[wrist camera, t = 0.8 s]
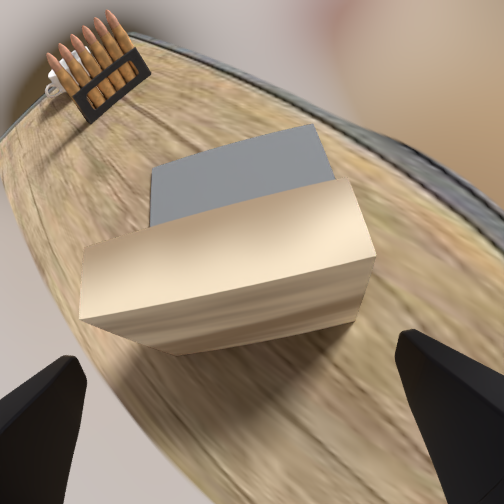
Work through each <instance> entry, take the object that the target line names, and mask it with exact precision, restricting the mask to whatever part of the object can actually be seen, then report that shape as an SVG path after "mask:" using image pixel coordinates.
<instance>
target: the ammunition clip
mask: <svg viewBox="0 0 504 504" xmlns="http://www.w3.org/2000/svg"><path fill="white" fill-rule="evenodd" d="M106 18H107V21H108V24H109V26H110V27H111V30H112V32H113V34H114V38H115V39H114V38H113V37H112V36H111V34H110V33H109V32H108V30H107V28H106V27H105V26H104V24H103V23H102V22H101V21H100V20H99V19H98V18H96V17H95V18H94V24H95V27H96V30H97V32H98V34H99V36H100V38H101V40H102V42H103V45H104V47H103V46H102V45H101V44H100V43H99V41H98V40H97V39H96V37H95V36H94V34H93V33H92V32H91V31H90V30H89V29H88V28H87V27H86V26H84V25H83V26H82V30H83V34H84V37H85V39H86V41H87V43H88V44H89V47H90V48H91V51H92V54H93V56H94V57H95V59H96V60H95V59H94V57H93V56H92V55H91V54H90V53H89V52H88V50H87V49H86V48H85V46H84V45H83V43H82V42H81V41H80V40H79V39H78V38H77V37H76V36H75V35H73V34H71V35H70V38H71V42H72V44H73V47H74V49H75V50H76V52H77V54H78V56H79V57H80V60H81V62H82V64H83V66H84V67H85V69H86V70H87V72H88V73H89V75H90V76H89V75H88V74H87V72H86V71H85V69H84V68H83V66H82V65H81V64H80V63H79V62H78V61H77V60H76V59H75V57H74V56H73V55H72V53H71V52H70V51H69V50H68V49H67V48H66V47H65V46H64V45H62V44H60V43H59V44H58V46H59V50H60V53H61V55H62V57H63V59H64V61H65V62H66V64H67V66H68V67H69V70H70V72H71V74H72V75H73V77H74V78H75V80H76V81H77V82H78V84H79V86H78V84H77V83H76V82H75V80H74V79H73V77H72V76H71V75H70V74H69V73H68V72H67V71H66V70H65V69H64V67H63V66H62V65H61V64H60V62H59V61H58V60H57V59H56V58H55V57H54V56H52V55H51V54H49V53H47V60H48V62H49V64H50V66H51V68H52V70H53V71H54V72H55V74H56V76H57V78H58V80H59V82H60V84H61V85H62V86H63V88H64V89H65V90H66V92H67V93H68V95H69V96H70V97H71V99H72V100H73V101H74V103H75V104H76V106H77V107H78V109H79V110H80V112H81V113H82V115H83V116H84V118H85V119H86V121H88V122H89V123H90V124H92V123H93V122H94V121H95V120H97V119H98V118H99V117H100V116H101V115H102V114H103V113H104V112H106V111H107V110H108V109H109V108H110V107H111V106H112V105H114V104H115V103H116V102H117V101H118V100H120V99H121V98H122V97H123V96H124V95H126V94H127V93H128V92H129V91H131V90H132V89H133V88H134V87H136V86H137V85H138V84H139V83H141V82H142V81H143V80H145V79H146V78H147V77H149V76H150V75H151V72H150V70H149V68H148V67H147V65H146V64H145V62H144V60H143V59H142V57H141V56H140V54H139V52H138V51H137V49H136V47H134V46H133V44H132V42H131V40H130V39H129V37H128V35H127V33H126V32H125V30H124V29H123V28H122V27H121V25H120V24H119V22H118V20H117V19H116V18H115V16H114V15H113V14H112V13H111V12H110V11H109V10H106ZM115 40H116V41H115ZM117 43H118V44H117ZM118 45H119V46H118ZM104 48H105V49H106V50H105V49H104ZM106 51H107V52H106ZM108 54H109V55H108ZM109 56H110V57H109ZM96 61H97V62H98V63H97V62H96ZM98 64H99V65H100V66H99V65H98ZM100 67H101V68H100ZM117 69H118V70H117ZM120 74H121V75H120ZM107 78H108V79H107ZM109 81H110V82H109ZM111 84H112V85H111ZM96 86H97V87H98V88H99V90H100V91H101V93H102V94H103V96H102V94H101V93H100V91H99V90H98V88H97V87H96ZM113 87H114V88H113ZM87 97H88V98H89V99H90V101H91V102H92V104H93V105H92V104H91V102H90V101H89V99H88V98H87Z"/></svg>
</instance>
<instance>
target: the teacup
mask: <svg viewBox="0 0 504 504" xmlns="http://www.w3.org/2000/svg"><path fill="white" fill-rule="evenodd" d="M85 48H86V49H87V50H88V48H87V47H85ZM88 52H89V53H90V51H89V50H88ZM90 54H91V53H90ZM72 55H73V56H74V57H75V59H76V60H77V61H78V62H79V63H80V64H81V65H82V66H83V64H82V62H81V60H80V57H79V56H78V54H77V52H76V50H75V51H73V52H72ZM60 64H61V65H62V66H63V67H64V69H65V70H66V71H67V72H68V73H69V74H70V75H71V76H72V77H73V75H72V74H71V72H70V70H69V67H68V66H67V64H66V62H65V61H64V59H62V60H61V61H60ZM83 68H84V69H85V67H84V66H83ZM85 71H86V72H87V70H86V69H85ZM87 74H88V75H89V73H88V72H87ZM89 76H90V75H89ZM48 77H49V78H50V79H51V81H52V83H50V84H49V85H48V86H47V87H46V89H45V93H46V96H47V97H49V98H53V97H56V96H58V95H60V94H62V93H64V92H66V90H65V89H64V88H63V86H62V85H61V84H60V82H59V80H58V78H57V76H56V74H55V72H54V71H53V70H51V71H50V73H49V75H48ZM73 79H74V80H75V78H74V77H73ZM75 82H76V83H77V84H78V82H77V81H76V80H75ZM52 86H55V87H57V88H59V92H58V93H56V94H55V95H49V94H48V89H49V87H52ZM78 86H79V84H78Z"/></svg>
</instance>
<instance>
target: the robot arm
mask: <svg viewBox="0 0 504 504" xmlns="http://www.w3.org/2000/svg"><path fill="white" fill-rule="evenodd" d="M395 362H396V365H397V369H398V372H399V375H400V378H401V381H402V384H403V387H404V391H405V394H406V397H407V400H408V403H409V406H410V409H411V411H412V413H413V416H414V418H415V420H416V423H417V425H418V428H419V430H420V432H421V435H422V437H423V440H424V442H425V445H426V447H427V450H428V452H429V455H430V457H431V460H432V462H433V465H434V467H435V470H436V473H437V475H438V478H439V481H440V483H441V486H442V489H443V492H444V494H445V497H446V500H447V503H448V504H504V375H502V374H500V373H498V372H496V371H494V370H492V369H490V368H489V367H487V366H485V365H483V364H481V363H479V362H477V361H475V360H473V359H471V358H469V357H467V356H466V355H464V354H462V353H460V352H458V351H456V350H454V349H452V348H450V347H448V346H446V345H444V344H443V343H441V342H439V341H437V340H435V339H433V338H431V337H429V336H427V335H425V334H423V333H421V332H419V331H417V330H415V329H410V330H405V331H402V332H401V333H400V334H399V338H398V343H397V347H396V351H395ZM86 387H87V378H86V375H85V374H84V372H83V369H82V367H81V365H80V363H79V361H78V359H77V358H76V357H75V356H68V355H64V356H61V357H60V358H58V359H57V360H56V361H54V362H53V363H51V364H50V365H48V366H47V367H46V368H44V369H43V370H41V371H40V372H38V373H37V374H36V375H34V376H33V377H31V378H30V379H29V380H27V381H26V382H24V383H23V384H21V385H20V386H19V387H17V388H16V389H14V390H13V391H12V392H10V393H9V394H8V395H6V396H5V397H3V398H2V399H1V400H0V504H63V503H64V497H65V492H66V486H67V482H68V476H69V472H70V467H71V462H72V458H73V454H74V450H75V446H76V442H77V437H78V433H79V429H80V424H81V417H82V411H83V405H84V398H85V392H86Z"/></svg>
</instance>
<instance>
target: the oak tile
mask: <svg viewBox="0 0 504 504" xmlns="http://www.w3.org/2000/svg"><path fill="white" fill-rule="evenodd" d="M375 259H376V253H375V250H374V247H373V244H372V241H371V238H370V235H369V232H368V229H367V226H366V224H365V221H364V218H363V215H362V213H361V210H360V207H359V205H358V202H357V199H356V197H355V194H354V192H353V189H352V187H351V184H350V181H349V179H348V177H344V178H339V179H335V180H330V181H326V182H321V183H317V184H313V185H308V186H304V187H300V188H295V189H291V190H287V191H283V192H279V193H275V194H271V195H267V196H262V197H258V198H255V199H251V200H247V201H243V202H239V203H235V204H231V205H227V206H224V207H220V208H216V209H212V210H209V211H205V212H201V213H198V214H194V215H190V216H187V217H183V218H180V219H176V220H173V221H169V222H166V223H162V224H159V225H155V226H152V227H149V228H145V229H142V230H138V231H135V232H132V233H128V234H125V235H122V236H119V237H115V238H112V239H109V240H106V241H103V242H99V243H96V244H93V245H90V246H87V247H84V252H83V263H82V274H81V288H80V308H79V320H81V321H84V322H86V323H88V324H91V325H93V326H96V327H98V328H100V329H103V330H105V331H108V332H111V333H113V334H116V335H118V336H121V337H124V338H126V339H129V340H132V341H134V342H137V343H140V344H143V345H145V346H148V347H151V348H154V349H157V350H160V351H163V352H166V353H169V354H172V355H175V356H179V355H186V354H193V353H200V352H206V351H213V350H219V349H225V348H231V347H236V346H242V345H247V344H253V343H258V342H263V341H268V340H273V339H278V338H283V337H288V336H293V335H297V334H302V333H307V332H311V331H316V330H320V329H324V328H328V327H333V326H337V325H341V324H345V323H349V322H353V321H355V320H356V317H357V314H358V312H359V309H360V306H361V303H362V300H363V297H364V294H365V291H366V288H367V285H368V282H369V279H370V275H371V272H372V269H373V266H374V262H375Z"/></svg>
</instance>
